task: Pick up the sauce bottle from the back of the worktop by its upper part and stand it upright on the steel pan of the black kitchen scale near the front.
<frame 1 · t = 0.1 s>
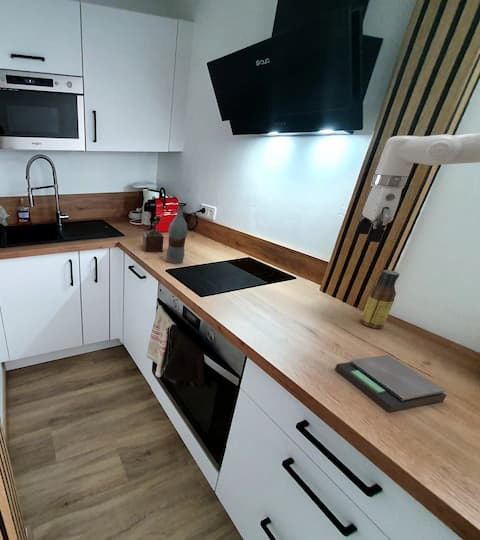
hand: (367, 237, 91), 30 cm above the worktop, tool pointing down, fingers open, 9 cm apart
pepper mill: (151, 248, 170), on the worktop
sauce bottle: (370, 324, 100), on the worktop
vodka: (174, 261, 150), on the worktop
scale: (385, 384, 73), on the worktop
scale pan: (394, 375, 73), point 3 cm above the worktop, slide at 0.0 cm
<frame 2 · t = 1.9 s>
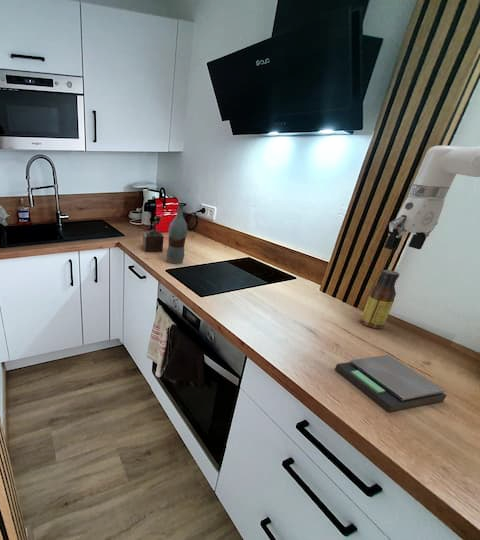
hand: (402, 248, 89), 28 cm above the worktop, tool pointing down, fingers open, 9 cm apart
nothing on the worktop moved.
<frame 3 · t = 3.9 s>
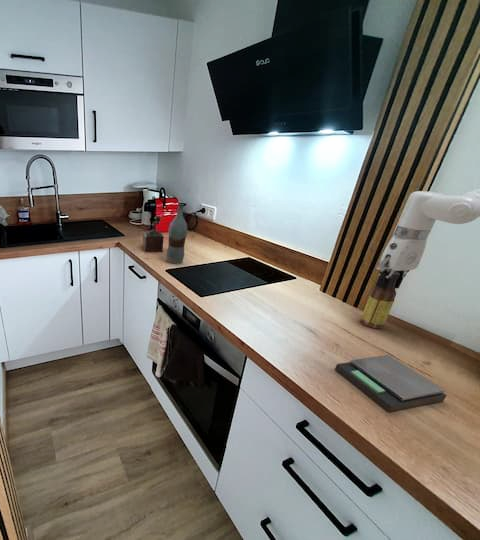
hand: (386, 286, 94), 15 cm above the worktop, tool pointing down, fingers closed on sauce bottle, 4 cm apart
sauce bottle: (370, 324, 100), on the worktop, touching gripper
everything else where it was.
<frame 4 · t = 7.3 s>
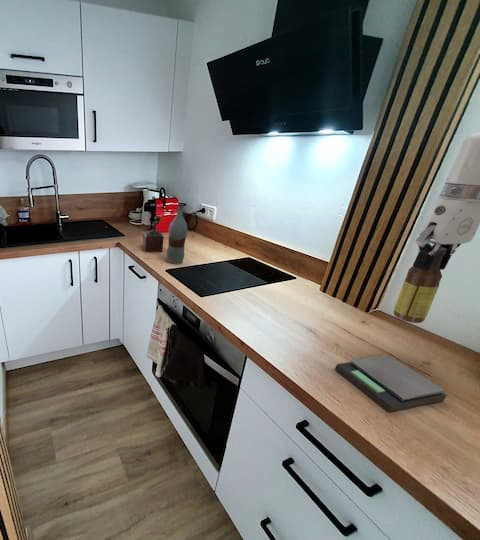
hand: (428, 267, 71), 29 cm above the worktop, tool pointing down, fingers closed on sauce bottle, 4 cm apart
sauce bottle: (406, 318, 77), point 14 cm above the worktop, touching gripper
everything else where it was.
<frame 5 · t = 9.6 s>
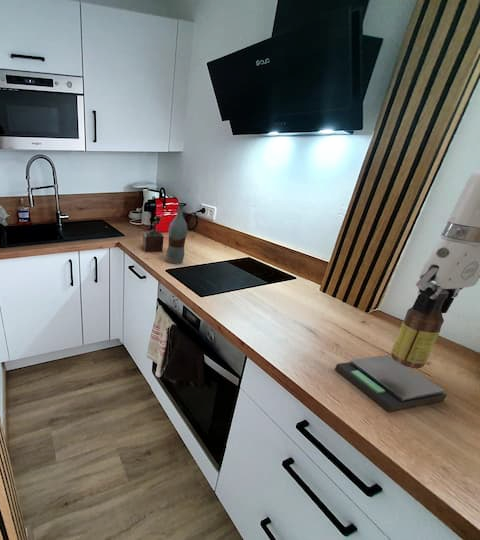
hand: (428, 310, 65), 22 cm above the worktop, tool pointing down, fingers closed on sauce bottle, 4 cm apart
sauce bottle: (404, 361, 71), point 7 cm above the worktop, touching gripper
everything else where it was.
when the fingers open (18 cm above the worktop, at t = 11.0 s): sauce bottle stays where it is, resting on scale pan.
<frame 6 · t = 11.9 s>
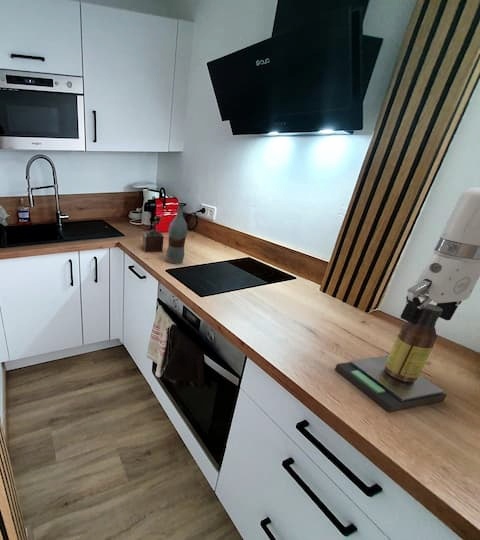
hand: (424, 319, 66), 20 cm above the worktop, tool pointing down, fingers open, 9 cm apart
sauce bottle: (397, 375, 73), point 3 cm above the worktop, touching scale pan
scale pan: (394, 376, 73), point 3 cm above the worktop, slide at -0.1 cm, touching sauce bottle
everything else where it was.
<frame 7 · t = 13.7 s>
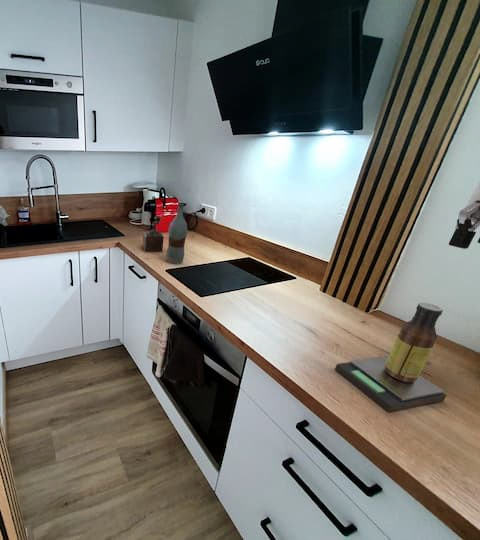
hand: (472, 245, 67), 36 cm above the worktop, tool pointing down, fingers open, 9 cm apart
nothing on the worktop moved.
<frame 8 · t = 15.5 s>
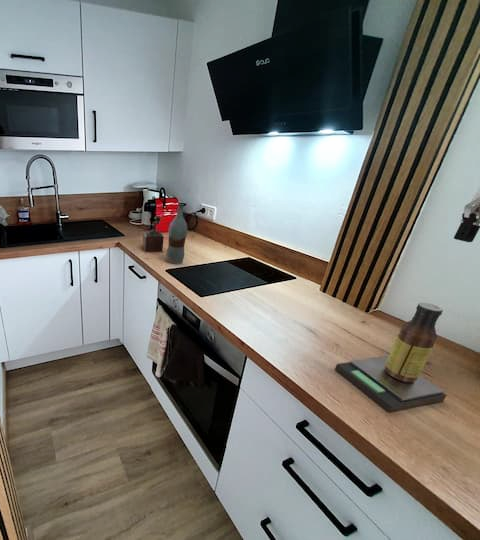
hand: (477, 239, 69), 36 cm above the worktop, tool pointing down, fingers open, 9 cm apart
nothing on the worktop moved.
at the end: sauce bottle inside the target area on the scale (1.1 cm from its centre), point 2.8 cm above the scale's base; sauce bottle tilted 0°; the gripper is holding nothing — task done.
